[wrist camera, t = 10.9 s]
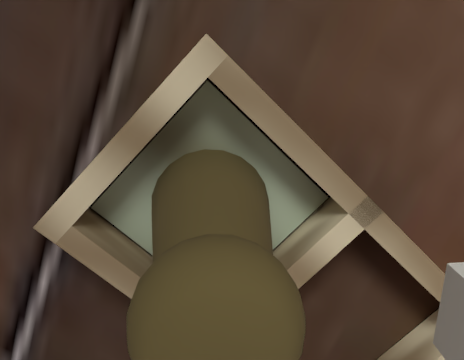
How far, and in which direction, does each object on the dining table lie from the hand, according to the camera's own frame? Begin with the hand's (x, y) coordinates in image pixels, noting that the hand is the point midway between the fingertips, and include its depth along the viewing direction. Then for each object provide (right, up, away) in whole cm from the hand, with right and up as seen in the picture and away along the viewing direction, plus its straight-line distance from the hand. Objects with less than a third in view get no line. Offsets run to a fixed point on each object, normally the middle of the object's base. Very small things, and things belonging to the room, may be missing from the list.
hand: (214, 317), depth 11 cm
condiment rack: (+3, -1, +11) cm, 12 cm away
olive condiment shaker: (-1, +3, +10) cm, 10 cm away
